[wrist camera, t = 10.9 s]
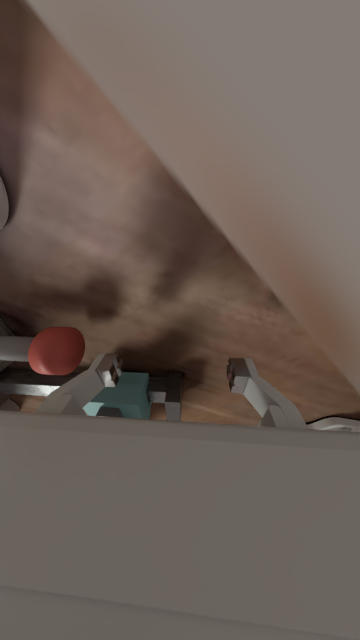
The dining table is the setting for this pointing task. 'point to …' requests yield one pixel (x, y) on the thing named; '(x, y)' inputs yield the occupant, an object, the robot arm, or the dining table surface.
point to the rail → (33, 383)
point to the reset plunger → (46, 350)
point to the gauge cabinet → (3, 330)
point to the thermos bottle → (10, 406)
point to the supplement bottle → (3, 205)
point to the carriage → (122, 398)
